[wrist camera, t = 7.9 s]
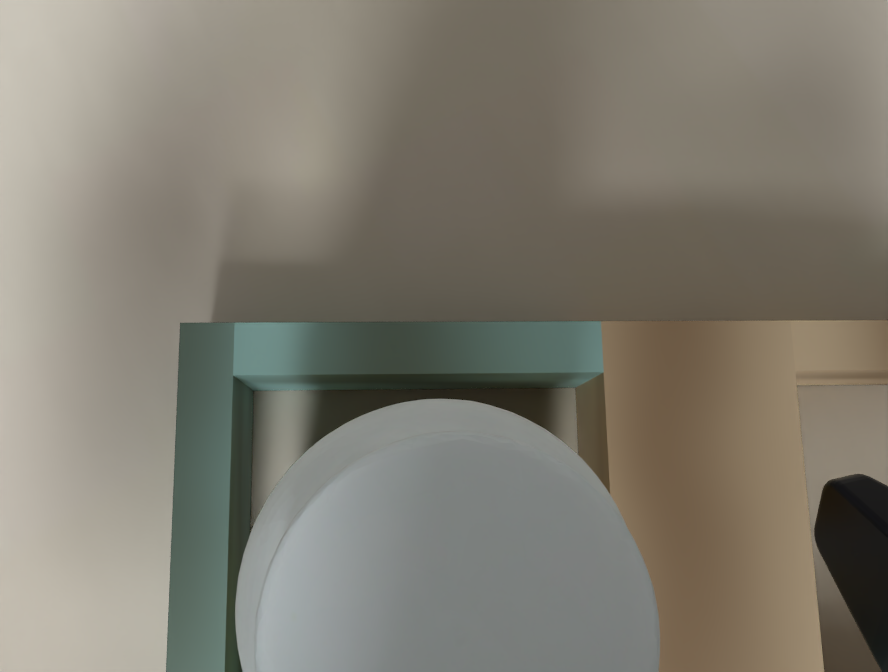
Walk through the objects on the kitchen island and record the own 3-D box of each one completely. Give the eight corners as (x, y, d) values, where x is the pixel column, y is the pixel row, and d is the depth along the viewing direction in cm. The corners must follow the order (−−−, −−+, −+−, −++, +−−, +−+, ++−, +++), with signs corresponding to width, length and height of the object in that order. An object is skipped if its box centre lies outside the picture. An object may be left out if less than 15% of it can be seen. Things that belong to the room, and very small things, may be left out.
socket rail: (1073, 339, 19) (1170, 318, 17) (1140, 756, 18) (1256, 797, 15) (207, 344, 18) (180, 323, 15) (192, 797, 16) (158, 850, 14)
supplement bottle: (538, 708, 17) (724, 979, 8) (276, 685, 17) (131, 936, 7) (556, 445, 18) (741, 394, 9) (310, 419, 18) (222, 338, 8)
